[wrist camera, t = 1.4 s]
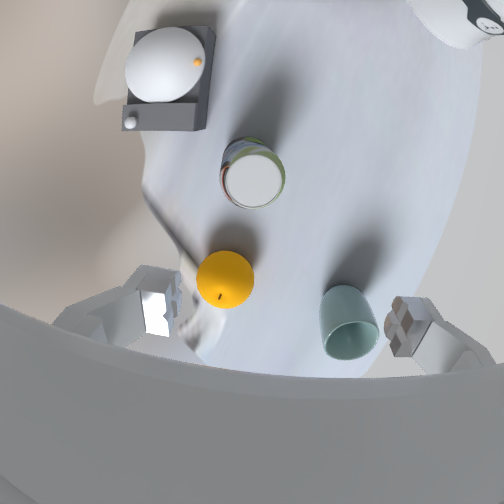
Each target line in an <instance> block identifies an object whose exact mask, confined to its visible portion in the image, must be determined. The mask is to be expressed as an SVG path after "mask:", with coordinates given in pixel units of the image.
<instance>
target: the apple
mask: <svg viewBox="0 0 504 504" xmlns="http://www.w3.org/2000/svg"><path fill="white" fill-rule="evenodd" d="M196 281H197V288H198V290H199V292H200V294H201V296H202V297H203V298H204V299H205V300H206V301H207V302H208V303H209V304H211V305H213V306H215V307H218V308H226V309H228V308H233V307H236V306H238V305H240V304H242V303H243V302H244V301H245V300H246V299H247V298H248V297H249V295H250V294H251V291H252V289H253V286H254V273H253V270H252V268H251V265H250V264H249V263H248V261H247V260H246V259H245V258H244V257H243V256H241V255H240V254H238V253H235V252H232V251H218V252H215V253H212V254H211V255H209V256H208V257H206V258H205V259H204V261H203V262H202V264H201V265H200V267H199V269H198V273H197V277H196Z"/></svg>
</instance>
